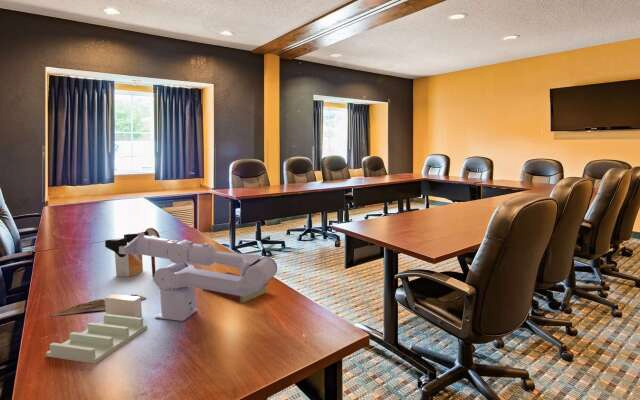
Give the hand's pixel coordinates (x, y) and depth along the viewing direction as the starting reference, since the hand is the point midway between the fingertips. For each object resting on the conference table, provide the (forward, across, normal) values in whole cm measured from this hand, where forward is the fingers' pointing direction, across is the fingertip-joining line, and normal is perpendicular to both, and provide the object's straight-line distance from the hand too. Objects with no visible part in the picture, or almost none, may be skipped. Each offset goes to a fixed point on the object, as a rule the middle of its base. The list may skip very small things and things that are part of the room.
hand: (115, 240), depth 118 cm
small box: (+19, -30, +24) cm, 43 cm away
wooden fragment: (+5, 0, +23) cm, 23 cm away
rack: (-12, +19, +21) cm, 31 cm away
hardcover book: (-30, -22, +20) cm, 42 cm away
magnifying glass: (+5, -26, +22) cm, 35 cm away
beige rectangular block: (-7, +4, +21) cm, 23 cm away
